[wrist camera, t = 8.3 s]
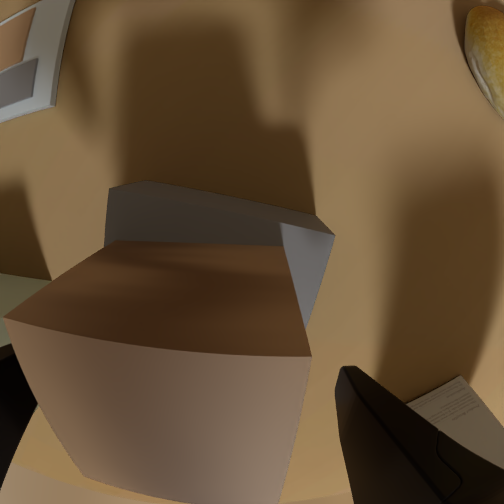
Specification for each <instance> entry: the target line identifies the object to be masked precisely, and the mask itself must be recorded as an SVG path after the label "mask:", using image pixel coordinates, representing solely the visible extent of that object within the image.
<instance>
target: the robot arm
mask: <svg viewBox="0 0 504 504" xmlns="http://www.w3.org/2000/svg"><path fill="white" fill-rule="evenodd" d="M335 401H336V410H337V419H338V428H339V437H340V443H341V447H342V452H343V456H344V460H345V465H346V469H347V474H348V478H349V483H350V487H351V492H352V497H353V501H354V504H504V469H503V468H501V467H499V466H497V465H495V464H493V463H491V462H490V461H488V460H486V459H484V458H482V457H481V456H479V455H477V454H475V453H474V452H472V451H470V450H469V449H467V448H465V447H464V446H462V445H461V444H459V443H458V442H456V441H455V440H453V439H452V438H451V437H449V436H448V435H446V434H445V433H444V432H442V431H441V430H439V431H438V428H437V427H435V426H434V425H433V424H431V423H430V422H429V421H427V420H426V419H425V418H423V417H422V416H421V415H419V414H418V413H417V412H415V411H414V410H413V409H411V408H410V407H409V406H407V405H406V404H405V403H404V402H402V401H401V400H400V399H398V398H397V397H396V396H394V395H393V394H392V393H390V392H389V391H388V390H387V389H385V388H384V387H383V386H381V385H380V384H379V383H377V382H376V381H375V380H374V379H372V378H371V377H370V376H368V375H367V374H366V373H365V372H363V371H362V370H361V369H359V368H358V367H357V366H343V367H341V369H340V372H339V375H338V379H337V383H336V386H335ZM37 405H38V402H37V400H36V398H35V396H34V394H33V392H32V390H31V388H30V386H29V384H28V382H27V380H26V377H25V375H24V373H23V371H22V368H21V366H20V364H19V361H18V359H17V356H16V354H15V351H14V349H13V346H12V343H10V344H7V345H5V346H2V347H0V490H1V487H2V484H3V481H4V478H5V476H6V473H7V471H8V468H9V466H10V463H11V461H12V459H13V456H14V454H15V452H16V449H17V447H18V445H19V442H20V440H21V438H22V436H23V434H24V432H25V429H26V427H27V425H28V423H29V421H30V419H31V417H32V415H33V413H34V411H35V409H36V407H37Z"/></svg>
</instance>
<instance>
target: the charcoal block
mask: <svg viewBox="0 0 504 504" xmlns="http://www.w3.org/2000/svg"><path fill="white" fill-rule="evenodd" d="M334 238H335V235H334V233H333V232H332V231H331V230H330V229H329V228H328V227H327V226H326V225H325V224H324V223H323V222H322V221H321V220H320V219H319V218H318V217H317V216H316V215H311V214H307V213H303V212H299V211H295V210H290V209H286V208H282V207H277V206H273V205H269V204H264V203H260V202H255V201H250V200H246V199H241V198H236V197H232V196H227V195H222V194H217V193H212V192H207V191H202V190H197V189H191V188H186V187H181V186H175V185H170V184H164V183H159V182H153V181H147V180H145V181H140V182H135V183H131V184H126V185H122V186H117V187H113V188H109V194H108V203H107V213H106V225H105V239H104V247H105V246H107V245H109V244H110V243H112V242H114V241H115V240H121V241H152V242H182V243H210V244H237V245H263V246H284V250H285V253H286V257H287V261H288V264H289V268H290V272H291V276H292V280H293V283H294V287H295V291H296V295H297V299H298V303H299V307H300V311H301V315H302V319H303V323H304V327H305V329H306V327H307V324H308V321H309V318H310V315H311V312H312V309H313V306H314V303H315V300H316V297H317V294H318V291H319V288H320V285H321V281H322V278H323V275H324V272H325V269H326V265H327V262H328V259H329V255H330V252H331V249H332V245H333V242H334Z"/></svg>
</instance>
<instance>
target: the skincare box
mask: <svg viewBox="0 0 504 504" xmlns="http://www.w3.org/2000/svg"><path fill="white" fill-rule="evenodd" d="M406 405H407V406H409V407H410V408H411V409H413V410H414V411H415V412H417V413H418V414H419V415H421V416H422V417H423V418H425V419H426V420H427V421H429V422H430V423H431V424H433V425H434V426H435V427H437V428H438V431H439V430H441V431H442V432H444V433H445V434H446V435H448V436H449V437H451V438H452V439H453V440H455V441H456V442H458V443H459V444H461V445H462V446H464V447H465V448H467V449H469V450H470V451H472V452H474V453H475V454H477V455H479V456H481V457H482V458H484V459H486V460H488V461H490V462H491V463H493V464H495V465H497V466H499V467H501V468H503V469H504V428H503V426H502V425H501V424H500V422H499V421H498V420H497V418H496V417H495V416H494V415H493V413H492V412H491V411H490V410H489V408H488V407H487V406H486V405H485V403H484V402H483V401H482V400H481V399H480V397H479V396H478V395H477V394H476V393H475V391H474V390H473V389H472V388H471V387H470V385H469V384H468V383H467V382H466V381H465V379H464V378H463V377H462V376H461V375H460V376H458V377H456V378H455V379H453V380H451V381H450V382H448V383H446V384H444V385H443V386H441V387H439V388H437V389H435V390H433V391H431V392H430V393H428V394H426V395H424V396H422V397H420V398H418V399H416V400H414V401H412V402H410V403H407V404H406Z"/></svg>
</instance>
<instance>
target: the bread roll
mask: <svg viewBox="0 0 504 504" xmlns="http://www.w3.org/2000/svg"><path fill="white" fill-rule="evenodd" d="M465 54H466V57H467V60H468V64H469V67H470V69H471V71H472V73H473V75H474V77H475V79H476V81H477V83H478V85H479V87H480V89H481V91H482V92H483V94H484V95H485V97H486V98H487V99H488V101H489V102H490V103H491V105H492V106H493V107H494V109H495V110H496V111H497V112H498V114H499V115H500V116H501V117H502V118H503V120H504V13H502V12H501V11H499V10H497V9H495V8H493V7H489V6H476V7H474V8H472V9H471V10H470V11H469V13H468V15H467V19H466V27H465Z"/></svg>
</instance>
